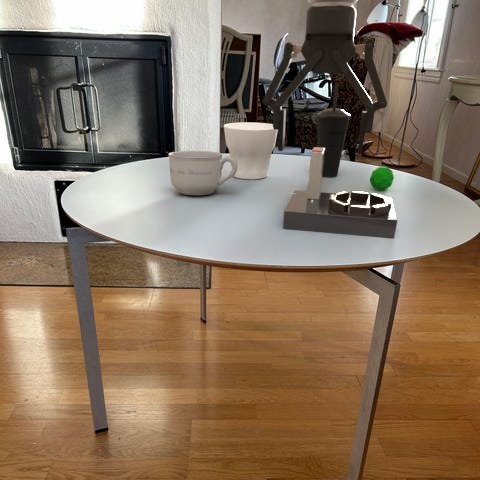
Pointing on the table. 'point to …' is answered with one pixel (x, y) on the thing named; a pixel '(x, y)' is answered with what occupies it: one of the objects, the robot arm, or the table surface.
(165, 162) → the table surface
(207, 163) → the teacup
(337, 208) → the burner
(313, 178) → the upright white panel
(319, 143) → the drinking cup
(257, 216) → the table surface
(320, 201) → the cooktop
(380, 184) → the polyhedron
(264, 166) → the cup
